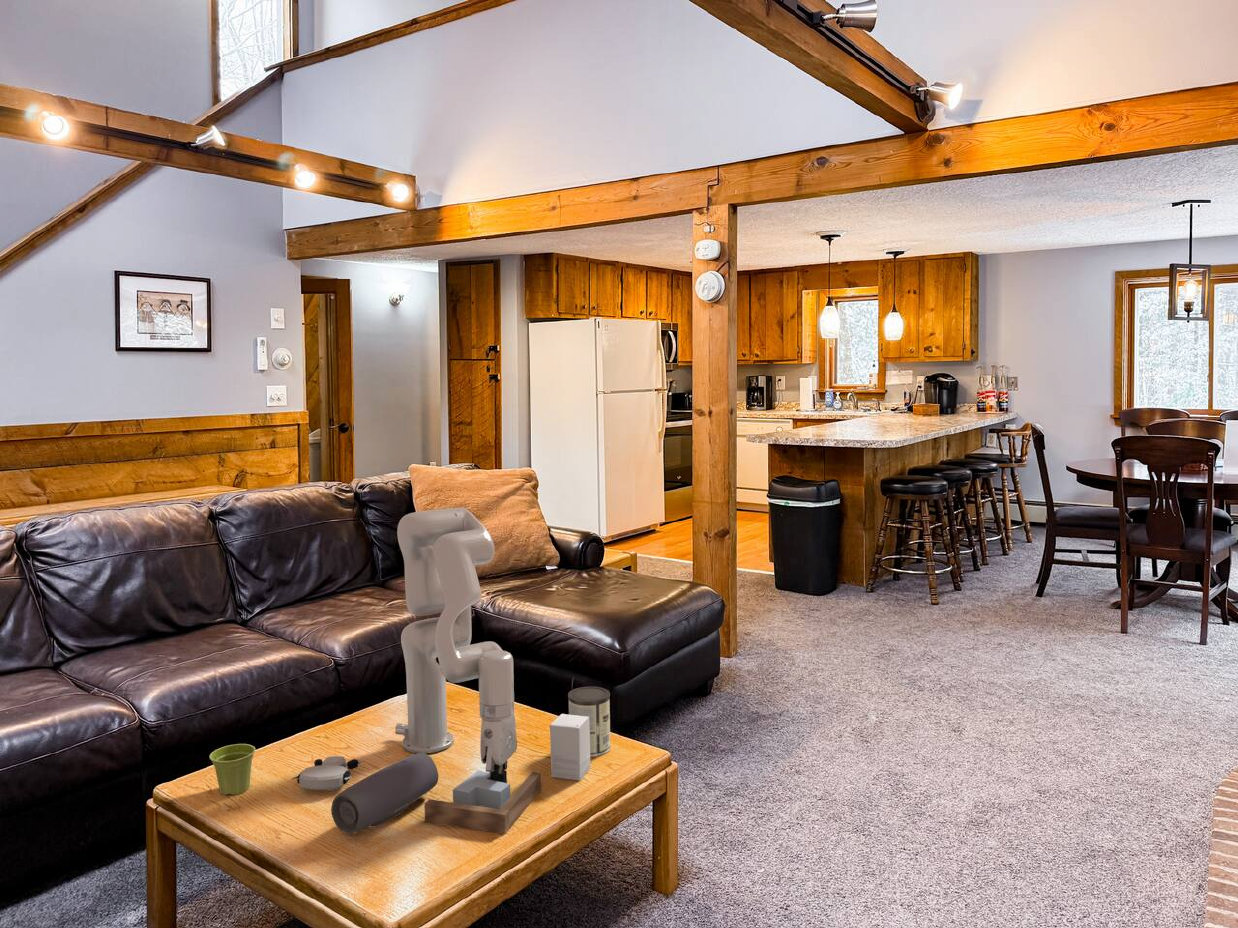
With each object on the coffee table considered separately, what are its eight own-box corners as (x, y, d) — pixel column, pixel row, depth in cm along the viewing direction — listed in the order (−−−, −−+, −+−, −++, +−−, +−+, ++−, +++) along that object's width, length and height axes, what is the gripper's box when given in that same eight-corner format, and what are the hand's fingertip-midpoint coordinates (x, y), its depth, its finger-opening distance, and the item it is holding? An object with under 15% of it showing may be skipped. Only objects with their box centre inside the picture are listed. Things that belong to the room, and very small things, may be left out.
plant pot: (223, 803, 196) (220, 764, 195) (204, 790, 202) (202, 752, 201) (264, 788, 203) (262, 751, 202) (245, 776, 209) (243, 740, 208)
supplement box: (591, 768, 212) (590, 716, 211) (579, 781, 205) (579, 727, 204) (562, 764, 214) (561, 712, 213) (549, 777, 208) (549, 724, 206)
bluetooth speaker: (409, 789, 202) (408, 746, 201) (441, 798, 197) (439, 754, 196) (329, 833, 183) (327, 786, 182) (362, 845, 178) (360, 797, 177)
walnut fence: (424, 821, 187) (424, 803, 187) (467, 780, 206) (467, 763, 206) (505, 833, 182) (504, 814, 182) (541, 789, 201) (540, 772, 201)
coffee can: (572, 739, 229) (571, 685, 227) (612, 740, 228) (612, 686, 226) (565, 756, 219) (564, 700, 217) (608, 758, 218) (607, 701, 216)
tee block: (453, 807, 193) (452, 789, 193) (478, 787, 203) (478, 770, 202) (493, 816, 189) (492, 797, 189) (517, 795, 198) (517, 778, 198)
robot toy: (313, 771, 214) (289, 796, 199) (313, 752, 213) (289, 776, 198) (365, 771, 213) (345, 796, 198) (365, 752, 213) (345, 776, 198)
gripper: (499, 722, 189) (501, 806, 191) (525, 697, 204) (527, 775, 205) (466, 718, 191) (468, 801, 193) (494, 694, 206) (496, 772, 207)
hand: (498, 788), depth 199 cm, fingers closed
